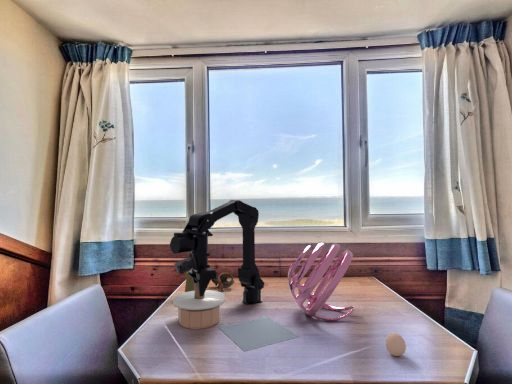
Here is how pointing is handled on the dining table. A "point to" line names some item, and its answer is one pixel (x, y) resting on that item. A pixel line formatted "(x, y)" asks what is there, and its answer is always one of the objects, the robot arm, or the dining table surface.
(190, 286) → the green tapered peg
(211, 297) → the ceramic lid
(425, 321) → the dining table surface
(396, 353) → the egg
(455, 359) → the dining table surface
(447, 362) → the dining table surface
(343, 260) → the spiral basket
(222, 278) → the pottery mug
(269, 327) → the rubber mat
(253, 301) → the robot arm
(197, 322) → the terracotta bowl
